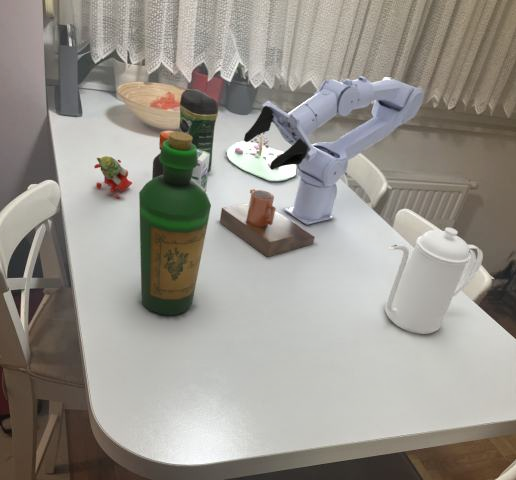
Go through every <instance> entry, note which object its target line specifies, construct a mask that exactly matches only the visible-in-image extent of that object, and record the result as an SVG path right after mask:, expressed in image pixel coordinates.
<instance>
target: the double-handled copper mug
mask: <svg viewBox="0 0 516 480" xmlns="http://www.w3.org/2000/svg"><path fill="white" fill-rule="evenodd" d="M249 194H250V196H249V201H248V202H249V204H248V205H249V208H248V213H247V219H246V220H247V222H248V223H249V224H251V225H253V226H257V227H265V226H267V225H268V224H269V225H272V223H273V219H274V214H275V211H276V209H277V208H276V207H275V206H274V204H273V203H274V200H275V196H274V195H273V194H272V193H271V192H269V191H266V190H260V189H255V188H254V189H253V188H252V189H250V190H249Z"/></svg>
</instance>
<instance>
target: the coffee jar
mask: <svg viewBox="0 0 516 480" xmlns="http://www.w3.org/2000/svg"><path fill="white" fill-rule="evenodd" d="M218 115H219V101H217V100H216V99H215V98H213V97H211V96H210V95H207V94H206V93H204V92H202V91H201V90H200V89H185V90H184V91H183V92H182V93H181V95H180V102H179V117H180V118H179V126H178V127H179V128H178V132H183V133H187V134H189V135H191V136H192V138H193V139H192V144H194V145H195V146H196V148H197V149H199V150H202V151H205V152H208V153H210V157H209V167H208V173H210V172H211V170H212V163H213V148H214V139H215V138H214V136H215V127H216V122H217V118H218Z"/></svg>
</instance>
